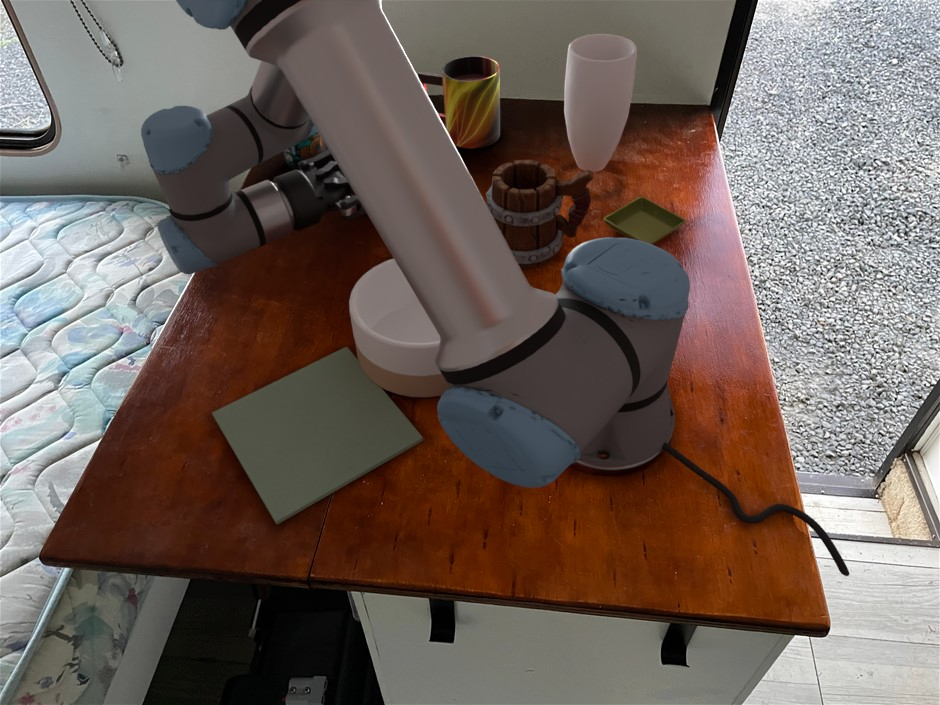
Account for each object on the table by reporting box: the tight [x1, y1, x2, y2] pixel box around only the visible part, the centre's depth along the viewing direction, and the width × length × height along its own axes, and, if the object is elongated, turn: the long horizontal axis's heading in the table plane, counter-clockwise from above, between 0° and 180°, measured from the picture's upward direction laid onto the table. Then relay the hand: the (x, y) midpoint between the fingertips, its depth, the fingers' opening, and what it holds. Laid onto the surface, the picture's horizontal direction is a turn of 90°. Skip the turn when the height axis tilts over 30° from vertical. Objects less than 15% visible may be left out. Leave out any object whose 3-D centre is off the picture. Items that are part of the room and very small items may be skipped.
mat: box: [211, 346, 424, 526], centre depth 81 cm, size 18×18×1 cm
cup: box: [563, 33, 638, 173], centre depth 107 cm, size 10×10×22 cm
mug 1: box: [417, 55, 501, 149], centre depth 122 cm, size 10×14×12 cm
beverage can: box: [283, 131, 327, 171], centre depth 117 cm, size 7×7×12 cm
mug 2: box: [485, 159, 594, 270], centre depth 99 cm, size 12×14×15 cm
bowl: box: [348, 257, 450, 398], centre depth 87 cm, size 17×17×8 cm
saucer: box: [603, 196, 687, 245], centre depth 104 cm, size 9×9×2 cm
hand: (426, 149), depth 102 cm, fingers closed on tumbler, 9 cm apart
